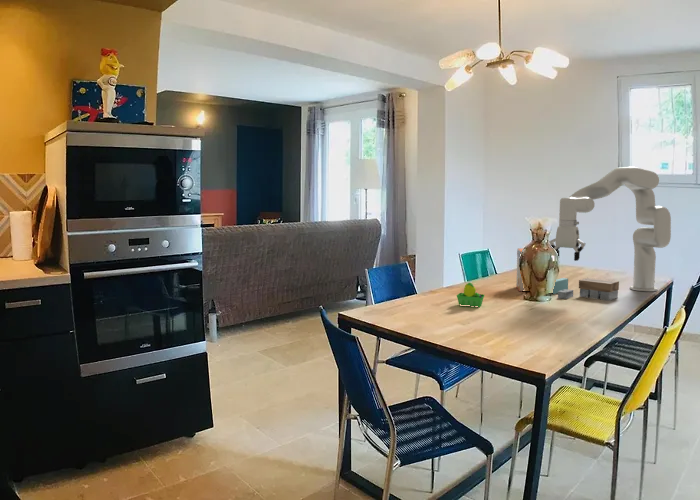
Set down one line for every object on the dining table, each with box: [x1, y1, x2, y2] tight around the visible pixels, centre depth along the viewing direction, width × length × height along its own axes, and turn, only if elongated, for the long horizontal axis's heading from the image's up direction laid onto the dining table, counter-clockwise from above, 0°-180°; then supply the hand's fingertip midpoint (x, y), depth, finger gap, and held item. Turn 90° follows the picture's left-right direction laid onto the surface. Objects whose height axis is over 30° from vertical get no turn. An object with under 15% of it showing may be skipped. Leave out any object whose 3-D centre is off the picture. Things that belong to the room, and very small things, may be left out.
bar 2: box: [579, 288, 590, 299], centre depth 264 cm, size 9×4×4 cm, turn 133°
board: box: [578, 277, 620, 292], centre depth 260 cm, size 9×15×4 cm, turn 42°
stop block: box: [552, 277, 569, 295], centre depth 275 cm, size 14×3×6 cm, turn 132°
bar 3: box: [589, 290, 601, 300], centre depth 260 cm, size 9×4×4 cm, turn 132°
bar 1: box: [557, 288, 574, 300], centre depth 261 cm, size 8×4×3 cm, turn 135°
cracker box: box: [515, 247, 524, 292], centre depth 282 cm, size 14×6×21 cm, turn 168°
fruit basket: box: [456, 282, 485, 308], centre depth 245 cm, size 11×9×11 cm
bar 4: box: [599, 290, 619, 302], centre depth 256 cm, size 9×4×4 cm, turn 129°
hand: (566, 259), depth 259 cm, fingers open, 9 cm apart
